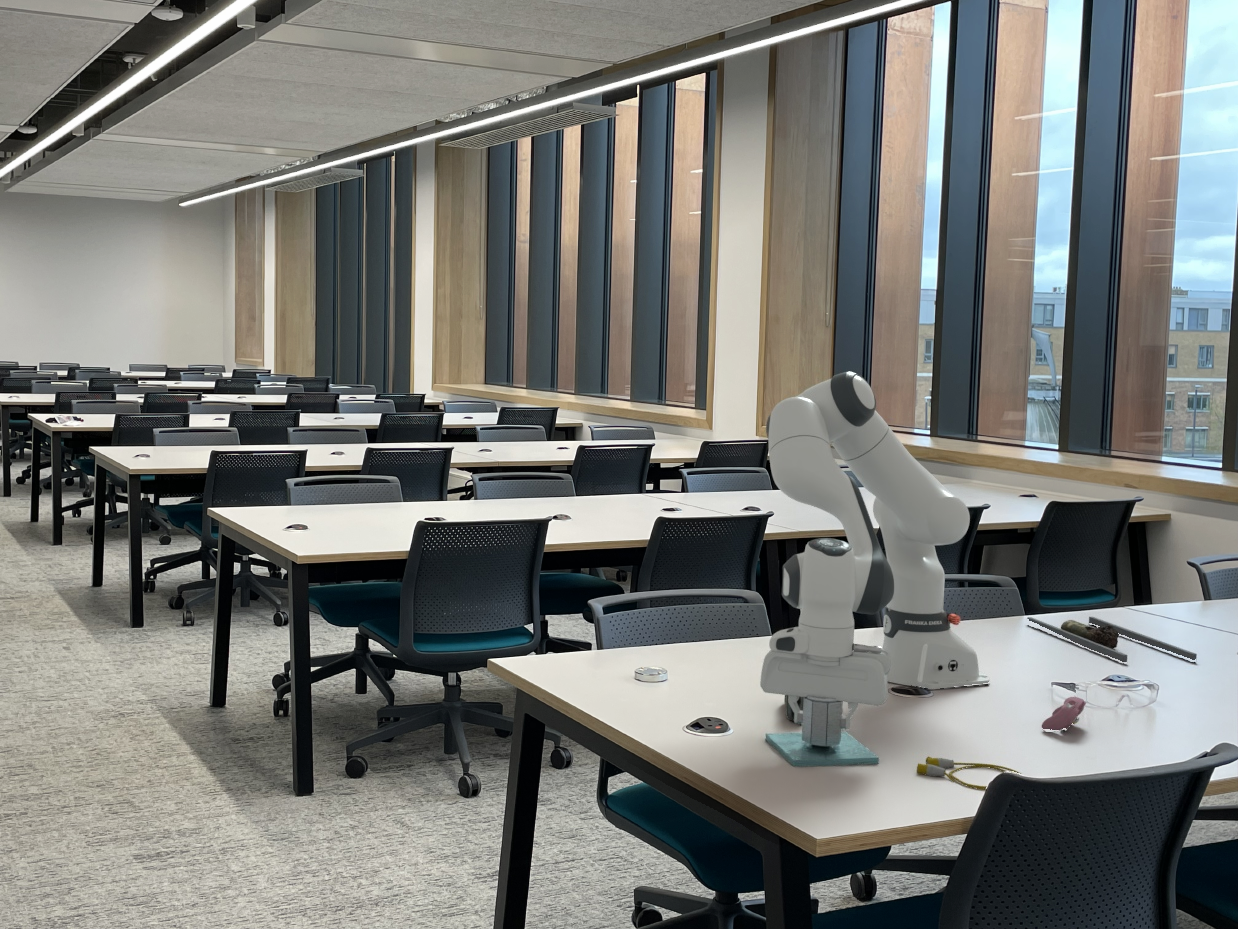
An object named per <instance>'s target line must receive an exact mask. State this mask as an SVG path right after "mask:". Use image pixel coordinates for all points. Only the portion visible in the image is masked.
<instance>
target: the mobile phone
mask: <svg viewBox="0 0 1238 929" xmlns="http://www.w3.org/2000/svg"><path fill="white" fill-rule="evenodd" d="M803 698H804V697H799V699H798V701H797V704H798V706H799V708H800V710H802V711H803ZM784 705H785V707H786V709H785V711H786V712H785V713H786V714H785V716H786V718H787V719H788V720H790V721H793V722H794V712H793V710H792V708H791V706H790V704H789V703H788V695H784ZM797 725H798V726H801V727H802V724H801V723H797Z"/></svg>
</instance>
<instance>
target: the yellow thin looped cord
mask: <svg viewBox="0 0 1238 929" xmlns="http://www.w3.org/2000/svg"><path fill="white" fill-rule="evenodd" d="M955 766H961V767H958V768H955V769H952V770H951V771H949V773H947V772H946V769H949V768H948V767H952V768H954V767H955ZM966 767H975V768H981V767H990V768H989V769H991V768H994V769H993V770H996V769H997V771H1000V770H1001V771H1000V772H1003V771H1009V772H1012V771H1014V772H1017V773H1020V774H1022V772H1019V771H1017V770H1014V769H1012V768H1009V767H1006V766H1001V765H999V764H998V765H997V764H996V765H995V764H988V763H980V762H979V763H978V762H955V761H954V760H953V759H949V758H943V757H930V756H927V757H926V758H925V764H924V763H919V762H918V763H917V766H916V774H917V773H918V775H925V774H926V775H927V776H928V775H931V776H930V777H936V776H941V777H945V776H946V777H947V778H948V779H949V780H950V781H951V780H952V781H954V782H957V783H960V784H961V785H962V784H963V786H964V785H967V786H968V788H970V787H972V788H971V789H974V788H977V789H976V790H981V791H982V790H983V791H986V790H985V789H986V787H987V785H976V784H971V783H967V782H964V781H963V780H961V779H959V778H958V777H956V776H954V775H953V774H954V773H955V772H954V771H956V772H957V770H958V771H960V770H959V769H961V770H963V769H962V768H965V769H967V768H966ZM953 772H954V773H953ZM1014 772H1013V773H1014ZM1017 773H1016V774H1017ZM926 775H925V776H926ZM952 781H951V782H952ZM954 782H953V783H954ZM967 786H966V787H967Z"/></svg>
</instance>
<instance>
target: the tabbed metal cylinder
mask: <svg viewBox="0 0 1238 929" xmlns="http://www.w3.org/2000/svg"><path fill="white" fill-rule="evenodd" d="M843 703H844V702H842V701H837V699H835V698H827V697H818V696H809V695H807V697H804V698H803V722H802V725H801V733H802V740H803V741H805V742H807V743H809V744H811V745H819V746H833V745H838V744H839V743H840V742H841V731H842V729H841V728H840V724H841V723H840V718H841V716H842V715H843V707H844V704H843Z"/></svg>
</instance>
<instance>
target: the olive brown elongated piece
mask: <svg viewBox="0 0 1238 929" xmlns="http://www.w3.org/2000/svg"><path fill="white" fill-rule="evenodd" d="M1060 629H1062V630H1065V631H1067V632H1070V633H1072V634H1075V635H1077V636H1080V637H1083V638H1085V639H1088V640H1090V641H1093V642H1095V643H1098V644H1100V645H1103V646H1105V647H1108V648H1111V649H1113V650H1115V649H1116V648H1117V647H1118V643H1119V640H1118V638H1119V637H1120V636H1119V634H1118V631H1117V630H1116V629H1114V628H1113V627H1112V626H1109V625H1105V626H1102V627H1098V628H1097V627H1094V626H1091V625H1089V624H1088V625H1087V624H1085V623H1082V622H1079V621H1076V620H1074V619H1068V620H1065V621H1064V622H1063V623H1062V624H1061V626H1060Z"/></svg>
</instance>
